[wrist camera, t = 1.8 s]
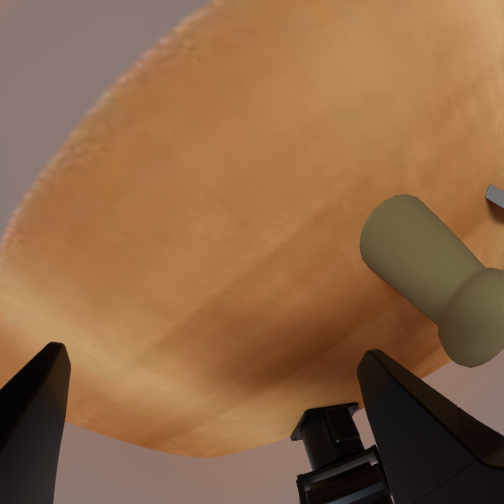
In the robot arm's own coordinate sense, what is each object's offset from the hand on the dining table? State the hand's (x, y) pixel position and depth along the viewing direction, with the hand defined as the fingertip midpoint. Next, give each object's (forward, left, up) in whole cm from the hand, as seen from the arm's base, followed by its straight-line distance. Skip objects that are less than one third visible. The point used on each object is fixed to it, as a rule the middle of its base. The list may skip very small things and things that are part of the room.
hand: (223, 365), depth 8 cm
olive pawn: (0, -13, -11) cm, 17 cm away
